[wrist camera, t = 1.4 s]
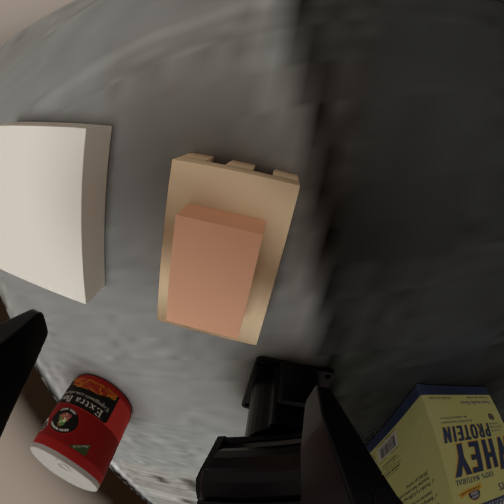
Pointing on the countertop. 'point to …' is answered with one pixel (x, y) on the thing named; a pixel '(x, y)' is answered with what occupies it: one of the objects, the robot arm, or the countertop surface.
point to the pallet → (238, 202)
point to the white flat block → (54, 205)
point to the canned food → (83, 432)
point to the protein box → (443, 447)
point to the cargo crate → (212, 268)
